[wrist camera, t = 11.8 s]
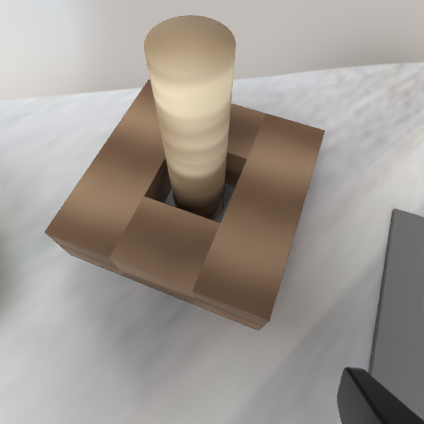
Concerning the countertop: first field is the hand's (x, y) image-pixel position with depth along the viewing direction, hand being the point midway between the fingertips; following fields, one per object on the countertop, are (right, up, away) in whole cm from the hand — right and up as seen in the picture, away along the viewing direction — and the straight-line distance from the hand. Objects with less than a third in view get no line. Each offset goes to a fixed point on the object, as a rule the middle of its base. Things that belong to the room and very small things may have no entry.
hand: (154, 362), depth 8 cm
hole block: (0, +4, +17) cm, 17 cm away
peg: (0, +4, +17) cm, 17 cm away
